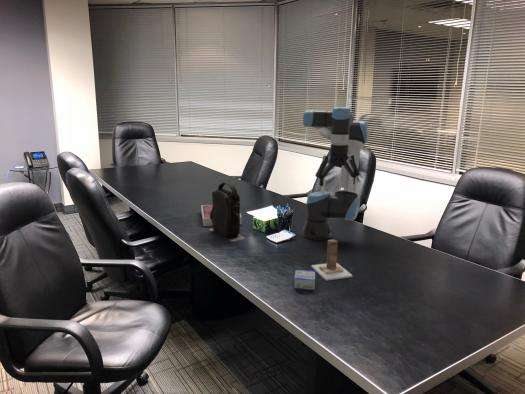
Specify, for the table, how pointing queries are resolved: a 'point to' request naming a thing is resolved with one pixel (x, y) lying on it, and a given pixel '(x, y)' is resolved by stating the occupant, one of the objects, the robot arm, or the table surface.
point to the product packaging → (206, 215)
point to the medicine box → (304, 280)
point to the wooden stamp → (331, 258)
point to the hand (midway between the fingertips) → (336, 192)
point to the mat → (332, 275)
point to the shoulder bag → (226, 213)
